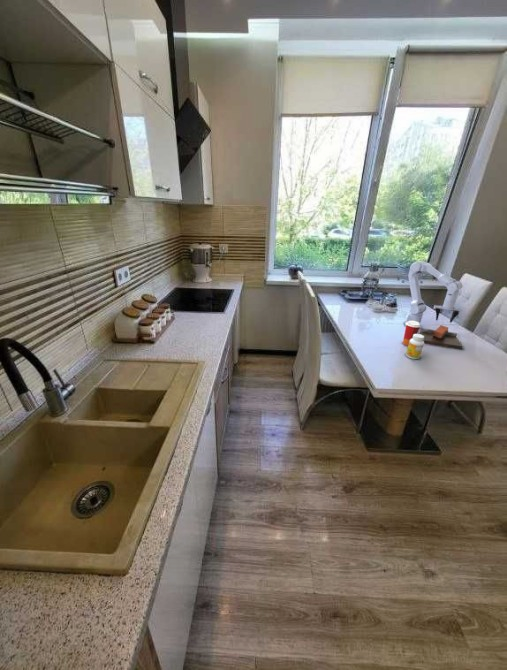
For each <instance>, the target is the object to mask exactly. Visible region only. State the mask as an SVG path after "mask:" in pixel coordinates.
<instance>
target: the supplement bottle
mask: <svg viewBox="0 0 507 670" xmlns="http://www.w3.org/2000/svg"><path fill="white" fill-rule="evenodd" d="M423 340H424V336H423V335H421V334H420V333H417V334H414V335H413V338H412V339H410V342H409V345H408V346H407V349H406V352H405V356H406V357H408V358H410V359H412V360H419V359H420V358H421V356H422V352H423V349H424V347H425V344H424V341H423Z"/></svg>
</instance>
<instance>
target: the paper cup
mask: <svg viewBox="0 0 507 670" xmlns="http://www.w3.org/2000/svg"><path fill="white" fill-rule="evenodd" d="M420 327H421V322H420V323H419V322H416V321H408V322H407V323H406V326H405V329H404V335H403V339H402V344H403V345H404V346H406V347H408V345H409V342H410V339H412V338H413V335H414V334H419V330H420V329H421V328H422V327H421V328H420Z"/></svg>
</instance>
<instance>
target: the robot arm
mask: <svg viewBox="0 0 507 670" xmlns="http://www.w3.org/2000/svg"><path fill="white" fill-rule="evenodd" d="M423 272H426V273H428V274H430V275H432V276H433V277H435V278H437V282H439V283H440V284H442V285H443V286H444V287H446V289H447V291H446V295H445V298H444V301H443V304H442V305H437V304H434V306H433V310H434V311H435V321H438V320H439V316H440V314H441V310H442V311H449V312H452V314H451V317H450V319H449V323H450V324H451V323H453V321H454V319H456V317H457V316H459V315H460V313H462V311H463V309H462V308H459V307H458V308H457V307H455V305H456V302H457V299H458V296H459V294H460V293H459V292H460V291H461V289H462V288H463V283H462V282H461V280H457V279H456V278H453V277H451V276H450V274H449V273H441V272H440V271H439V270H438V269H436V268H435V267H433V266H432V265H431V264H430V262H427V261H425V260H421V261H414V262H413V263H412V264H411V265H410V266H409V271H408V273H407V274H408V275H407V277H408V282H409V288H410V295H411V300H412V301H411V302H410V307H409V312H407V313H406V315H405V319H404V325H405V327H406V323H407V322H408V321H416V322H419V323H420V324H421V323H422V322H421V321H422V318H423V315H424V312H425V311H426V310H427V305H426V304H425V301H424V300H423V299H422V294H421V288H420V282H419V276H420V275H421V273H423ZM421 328H422V327H420V328H419V329H421Z"/></svg>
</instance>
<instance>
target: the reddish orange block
mask: <svg viewBox="0 0 507 670" xmlns="http://www.w3.org/2000/svg"><path fill="white" fill-rule="evenodd" d="M434 330H435V331H434V335H433V338H436V339H439V340H441V339H442V338H443V337H444V336H445V335H446V334H447V333H448V332H449V327H447V326H445V325H439V326H438V327H437V328H436V329H434Z"/></svg>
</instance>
